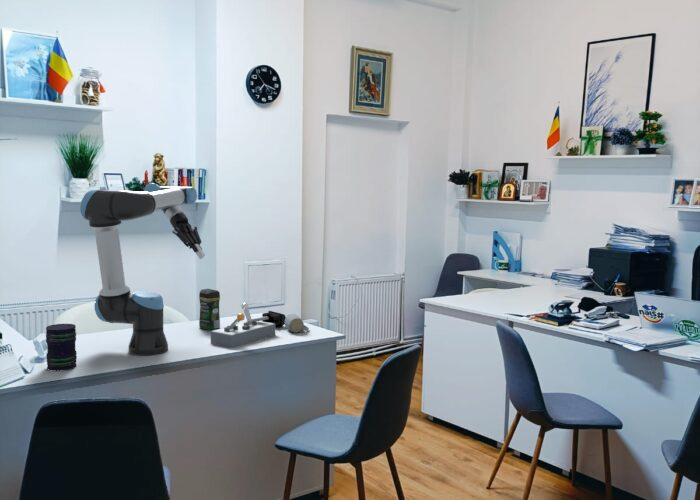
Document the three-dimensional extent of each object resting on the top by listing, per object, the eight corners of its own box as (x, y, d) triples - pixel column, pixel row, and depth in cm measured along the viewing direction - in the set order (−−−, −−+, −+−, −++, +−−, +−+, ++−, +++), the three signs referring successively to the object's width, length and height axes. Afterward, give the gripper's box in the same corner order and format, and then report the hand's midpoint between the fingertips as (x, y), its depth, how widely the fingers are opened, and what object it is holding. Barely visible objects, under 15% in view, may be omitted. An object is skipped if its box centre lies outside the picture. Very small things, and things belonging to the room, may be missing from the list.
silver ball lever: (245, 326, 273) (238, 304, 274) (251, 325, 276) (244, 303, 277) (250, 324, 271) (243, 302, 273) (256, 322, 274) (249, 301, 276)
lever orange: (225, 326, 263) (238, 312, 258) (231, 324, 266) (244, 311, 261) (228, 332, 262) (241, 318, 257) (234, 330, 265) (247, 317, 260)
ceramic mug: (289, 334, 282) (289, 317, 282) (284, 330, 290) (284, 314, 289) (311, 332, 287) (311, 316, 286) (305, 329, 294) (305, 313, 293)
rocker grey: (251, 321, 279) (251, 318, 279) (258, 320, 283) (257, 317, 283) (262, 320, 275) (261, 317, 276) (268, 318, 279) (268, 315, 279)
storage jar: (49, 372, 217) (48, 330, 215) (44, 366, 225) (43, 325, 223) (79, 368, 223) (78, 327, 221) (73, 362, 231) (72, 322, 229)
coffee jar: (196, 328, 291) (196, 288, 289) (209, 325, 297) (209, 287, 295) (209, 331, 285) (209, 291, 283) (222, 328, 291) (222, 289, 289)
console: (210, 343, 263) (210, 327, 262) (255, 331, 286) (255, 316, 285) (231, 347, 256) (231, 331, 255) (275, 335, 279) (275, 320, 279)
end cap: (286, 326, 297) (286, 313, 297) (274, 329, 292) (274, 314, 292) (273, 323, 304) (273, 309, 304) (261, 325, 299) (261, 311, 299)
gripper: (184, 222, 289) (209, 261, 281) (161, 223, 278) (186, 263, 271) (192, 211, 286) (217, 250, 278) (169, 212, 275) (195, 252, 267)
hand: (202, 256), depth 274 cm, fingers closed
